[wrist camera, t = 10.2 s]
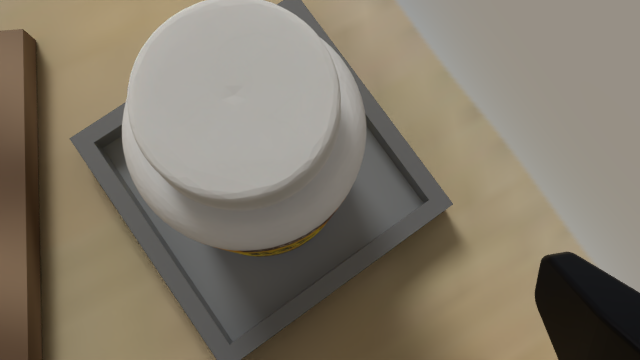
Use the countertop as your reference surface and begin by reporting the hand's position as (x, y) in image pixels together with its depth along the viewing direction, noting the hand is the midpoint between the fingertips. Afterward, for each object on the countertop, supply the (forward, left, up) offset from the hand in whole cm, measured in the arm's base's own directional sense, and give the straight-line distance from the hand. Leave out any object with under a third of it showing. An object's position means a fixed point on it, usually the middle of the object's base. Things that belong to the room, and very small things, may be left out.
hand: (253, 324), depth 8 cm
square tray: (+4, -2, -12) cm, 12 cm away
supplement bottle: (+4, -2, -12) cm, 12 cm away
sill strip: (+8, +6, -12) cm, 15 cm away
